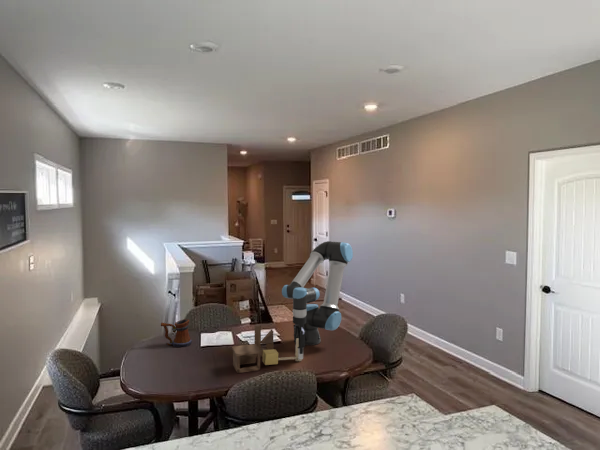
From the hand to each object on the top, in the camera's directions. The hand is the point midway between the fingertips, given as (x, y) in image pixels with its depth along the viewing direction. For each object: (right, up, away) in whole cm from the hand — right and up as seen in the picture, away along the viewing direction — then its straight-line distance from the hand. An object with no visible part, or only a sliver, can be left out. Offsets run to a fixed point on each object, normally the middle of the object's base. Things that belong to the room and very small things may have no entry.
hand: (299, 357), depth 235 cm
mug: (-75, 0, +23) cm, 78 cm away
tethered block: (-9, -1, -3) cm, 10 cm away
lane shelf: (-28, -2, -10) cm, 30 cm away
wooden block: (-20, -1, +7) cm, 22 cm away
